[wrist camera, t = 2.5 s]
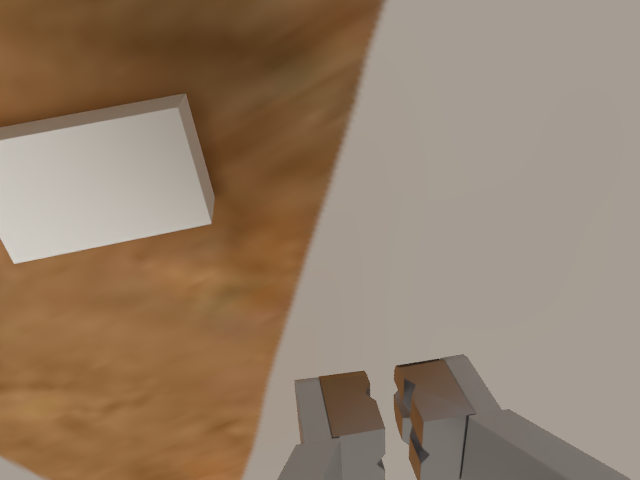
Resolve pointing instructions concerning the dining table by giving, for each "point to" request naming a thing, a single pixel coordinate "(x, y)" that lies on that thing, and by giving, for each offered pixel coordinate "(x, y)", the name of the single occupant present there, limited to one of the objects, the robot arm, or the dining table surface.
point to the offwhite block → (101, 178)
